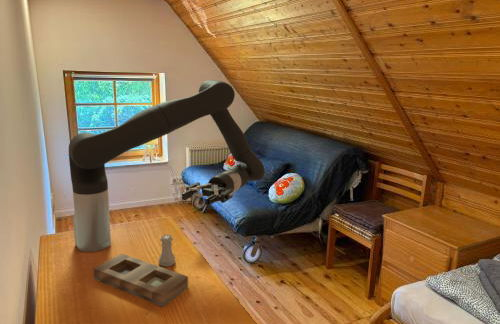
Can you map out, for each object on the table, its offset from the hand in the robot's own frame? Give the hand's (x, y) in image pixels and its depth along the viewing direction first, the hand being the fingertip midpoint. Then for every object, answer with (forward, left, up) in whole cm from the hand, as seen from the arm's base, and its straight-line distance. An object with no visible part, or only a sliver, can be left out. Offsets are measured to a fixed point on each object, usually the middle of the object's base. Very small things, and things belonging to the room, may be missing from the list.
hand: (194, 199), depth 106 cm
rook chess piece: (-1, -12, -15) cm, 19 cm away
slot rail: (0, -23, -15) cm, 27 cm away
